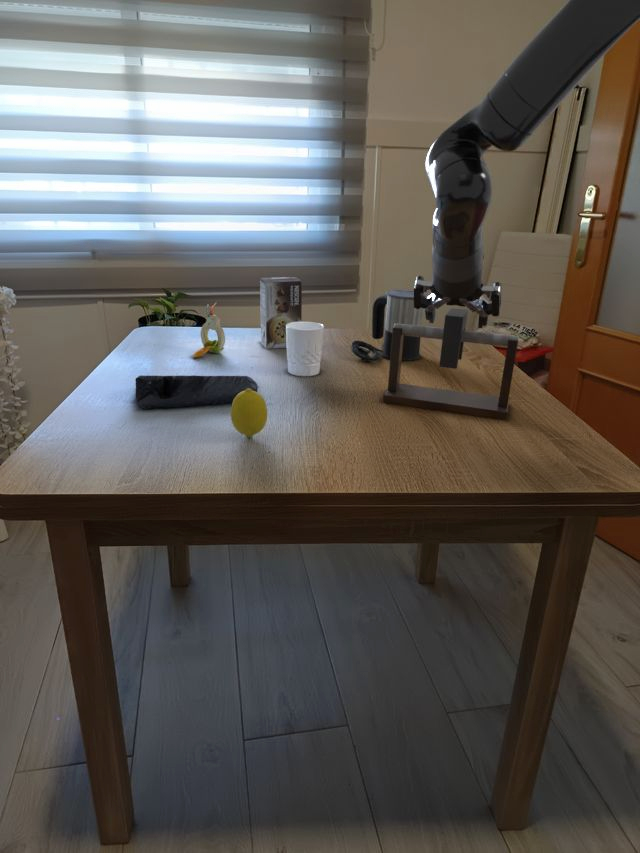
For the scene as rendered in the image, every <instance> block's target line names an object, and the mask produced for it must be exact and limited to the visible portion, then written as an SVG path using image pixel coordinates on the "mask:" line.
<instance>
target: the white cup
mask: <svg viewBox="0 0 640 853" xmlns="http://www.w3.org/2000/svg"><path fill="white" fill-rule="evenodd" d="M324 331H325V325H324V324H323V323H319V322H315V321H305V320H304V321H303V320H302V321H300V322H291V323H288V324H286V347H287V348H286V359H287V372H288V373H289V374H291V375H292V376H296V377H312V376H317V375H319V374H320V369H321V360H322V353H323V342H324Z"/></svg>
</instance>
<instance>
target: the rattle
mask: <svg viewBox="0 0 640 853" xmlns="http://www.w3.org/2000/svg"><path fill="white" fill-rule="evenodd" d="M216 304H218V301H216V302H215V303H214V304H213V305H212V306H211V307H210V305H209V304H207V305H206V318H207V319H206V322H205V323H203V324H202V326H201V329H200V339H201V343H202V345H203V346H202V347H201V348H199V349H198V350H197V351H195V352H194V353H193V354H192V357H193V358H195V359H196V358H200V357H202V356H204V355H205V354H207V352H209V353H214V354H219V353H220V352H222V351H224V349H225V348H224V346H225V343H226V335H225V334H226V333H225V330H224V329H223V327H222V326H221V320H220V318H219V316H218V315H216V314H214V313H213V310H214V307H215V306H216ZM210 330H212V331H215V333H216V336H217V339H214V340H211V339H209V332H210Z"/></svg>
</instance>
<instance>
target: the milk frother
mask: <svg viewBox="0 0 640 853" xmlns="http://www.w3.org/2000/svg"><path fill="white" fill-rule="evenodd" d="M423 297H425V298H427V297H428V295H427V294H426V293H424V295H423ZM424 312H425V310H424V309H423V308H420V309H416V308H414V290H405V289H394V290H388V291H386V294H384V295H379V296H378V297H376V298H375V300H374V301H373V304H372V319H371V327H372V328H371V337H372V339H374V340H381V339H383V343H382V346H381V349H382V350H381V349H379V348H377V347H375V346H373V345H372V344H370V343H369V342H368V343H367V342H365V341H362V340H354V341H352V342H351V344H350V350H351V352H352V354H354V356H356V357H358V358H360V359H361V361H370V362H374V361H377V360H380V354H381V356H382V357H384V358H386V359H390V356H391V344H392V332H393V327H394V324H395V323H398V324H407V325H417V326H423V321H424V314H425V313H424ZM421 338H422V337H414V336H405V335H404V339H403V350H402V361H416V360H418V359H420V358H421V354H420V348H421ZM370 353H373V355H372V354H370Z"/></svg>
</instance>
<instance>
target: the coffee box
mask: <svg viewBox="0 0 640 853" xmlns="http://www.w3.org/2000/svg"><path fill="white" fill-rule="evenodd" d="M259 298H260V300H259V301H260V303H259V304H260V305H259V306H260V343H261V345H262V346H263V347H264V348H265V349H266V350H270V349H283V348H286V349H287V347H286V324H288V323H291V322H300V321H303V320H302V314H303V312H302V311H303V304H302V303H303V281H302V280H301V279H299V278H298V277H296V276H282V277H281V276H279V277H278V276H277V277H275V276H274V277H271V276H270V277H260V278H259Z"/></svg>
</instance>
